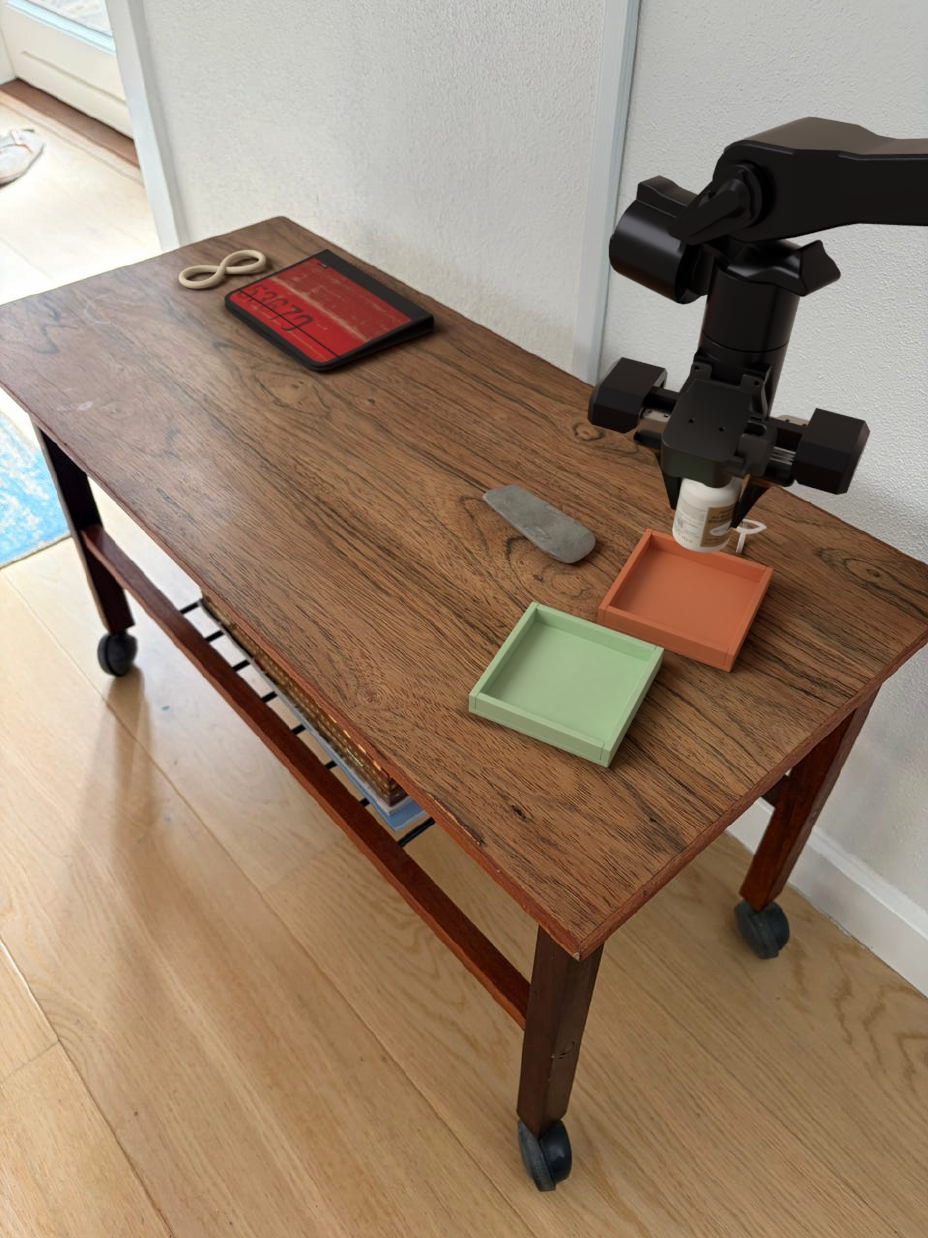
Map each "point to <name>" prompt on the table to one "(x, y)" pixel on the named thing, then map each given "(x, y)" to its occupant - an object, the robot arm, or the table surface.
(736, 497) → the pill bottle
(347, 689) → the table surface
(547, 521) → the stone
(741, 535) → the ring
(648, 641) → the terracotta tray
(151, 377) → the table surface
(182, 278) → the decorative object
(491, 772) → the table surface
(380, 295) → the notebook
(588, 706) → the sage tray
